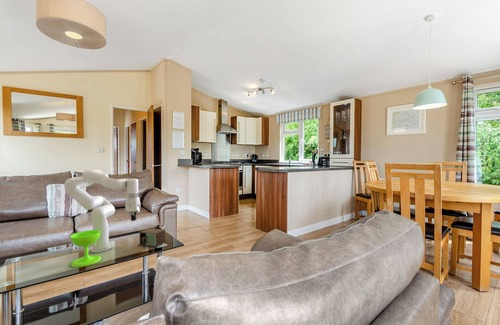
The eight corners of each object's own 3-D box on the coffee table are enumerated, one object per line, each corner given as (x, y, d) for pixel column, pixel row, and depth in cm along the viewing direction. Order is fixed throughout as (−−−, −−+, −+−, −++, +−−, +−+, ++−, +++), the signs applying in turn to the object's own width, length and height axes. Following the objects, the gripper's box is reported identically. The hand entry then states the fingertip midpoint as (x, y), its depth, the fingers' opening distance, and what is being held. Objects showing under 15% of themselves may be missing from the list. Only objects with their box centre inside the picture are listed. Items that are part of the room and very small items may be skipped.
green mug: (141, 247, 166) (140, 235, 166) (146, 244, 171) (146, 233, 171) (150, 248, 163) (149, 236, 163) (155, 245, 168) (155, 234, 168)
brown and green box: (137, 245, 172) (137, 232, 172) (149, 240, 183) (149, 228, 183) (154, 247, 167) (154, 234, 167) (165, 242, 178) (165, 229, 178)
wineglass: (106, 258, 150) (106, 231, 150) (80, 269, 135) (79, 239, 135) (91, 254, 157) (91, 229, 156) (65, 264, 142) (64, 236, 142)
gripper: (120, 196, 164) (121, 221, 164) (136, 196, 159) (137, 222, 159) (129, 194, 171) (129, 218, 171) (144, 195, 166) (145, 219, 166)
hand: (133, 220), depth 165 cm, fingers closed
